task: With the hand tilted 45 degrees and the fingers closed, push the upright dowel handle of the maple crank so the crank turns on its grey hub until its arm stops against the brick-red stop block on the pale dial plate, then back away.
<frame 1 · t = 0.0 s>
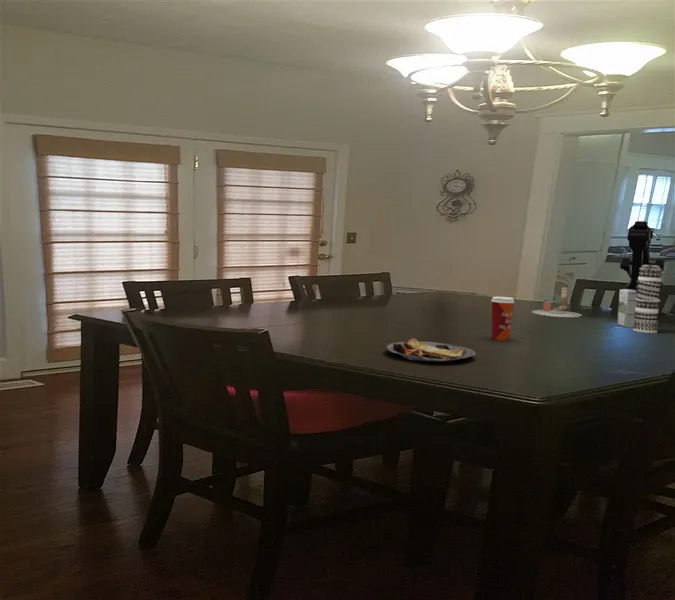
hand: (641, 278, 314), 15 cm above the table, tool tilted 35°, fingers open, 9 cm apart
crank: (561, 298, 294), point 6 cm above the table, hinge at 0.0°
dial plate: (556, 313, 290), on the table
paper cup: (500, 339, 220), on the table
decorative candle: (644, 331, 249), on the table
food plate: (429, 357, 188), on the table
syrup box: (627, 326, 260), on the table
stop block: (546, 311, 297), resting on dial plate
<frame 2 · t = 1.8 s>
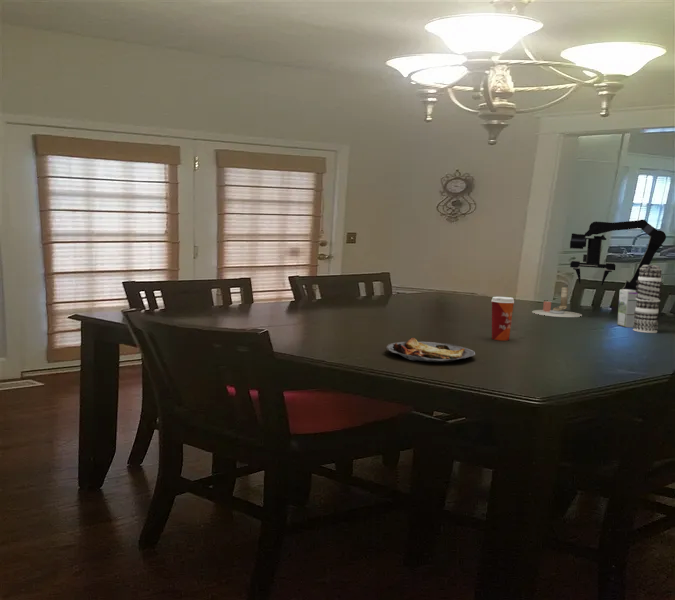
hand: (590, 284, 294), 13 cm above the table, tool pointing down, fingers open, 9 cm apart
nothing on the table moved.
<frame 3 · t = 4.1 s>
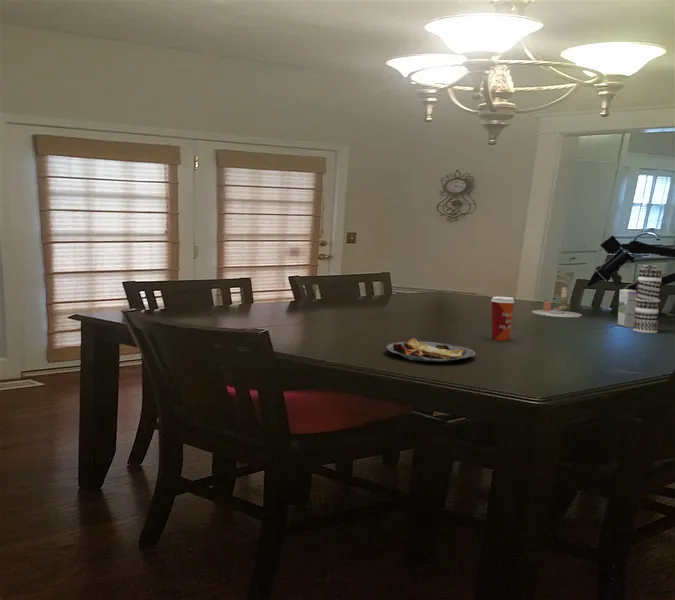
hand: (587, 285, 294), 12 cm above the table, tool tilted 45°, fingers closed
nothing on the table moved.
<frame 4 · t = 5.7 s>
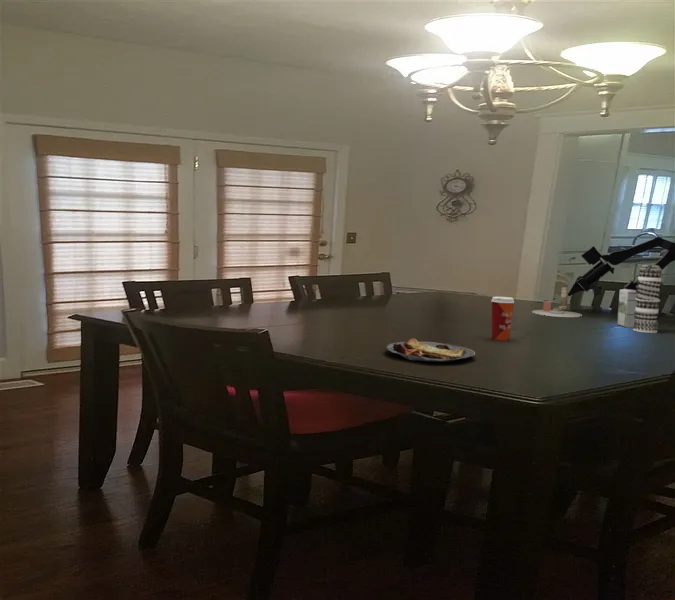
hand: (568, 295, 297), 7 cm above the table, tool tilted 45°, fingers closed, pressing on crank
crank: (561, 298, 294), point 6 cm above the table, hinge at 0.0°, touching gripper
everything else where it was.
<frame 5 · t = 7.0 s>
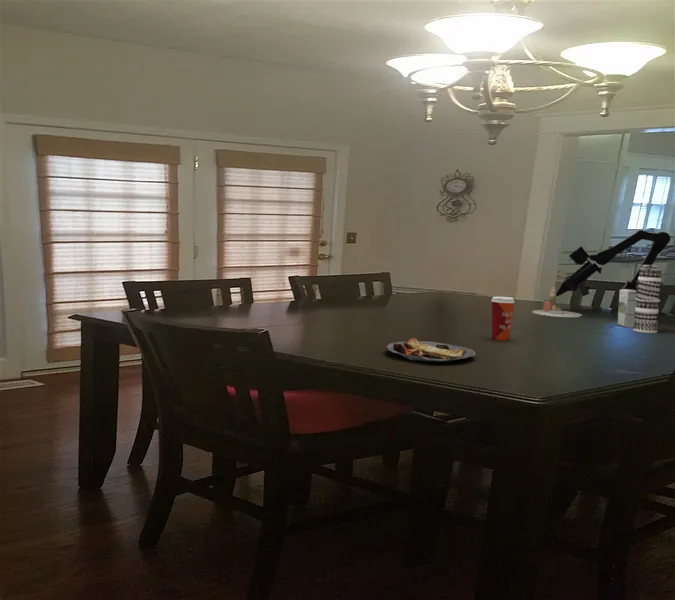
hand: (556, 295, 299), 7 cm above the table, tool tilted 45°, fingers closed
crank: (554, 298, 294), point 6 cm above the table, hinge at 29.8°
everything else where it was.
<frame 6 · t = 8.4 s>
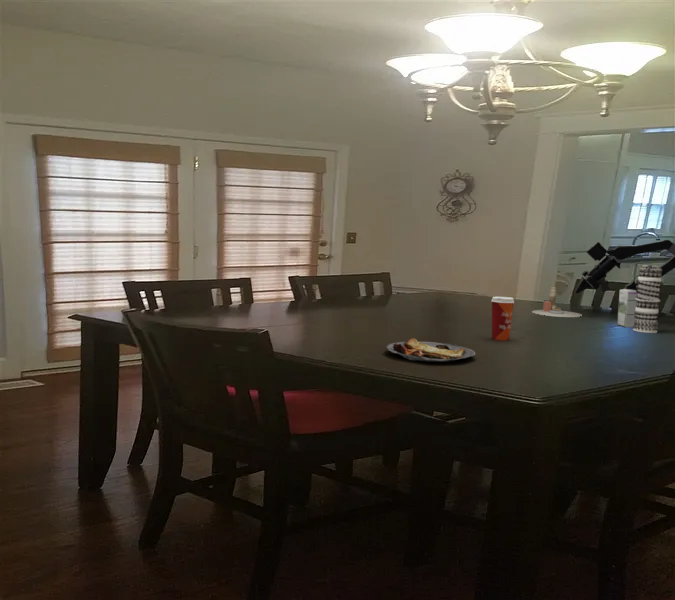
hand: (576, 292, 296), 9 cm above the table, tool tilted 40°, fingers closed
nothing on the table moved.
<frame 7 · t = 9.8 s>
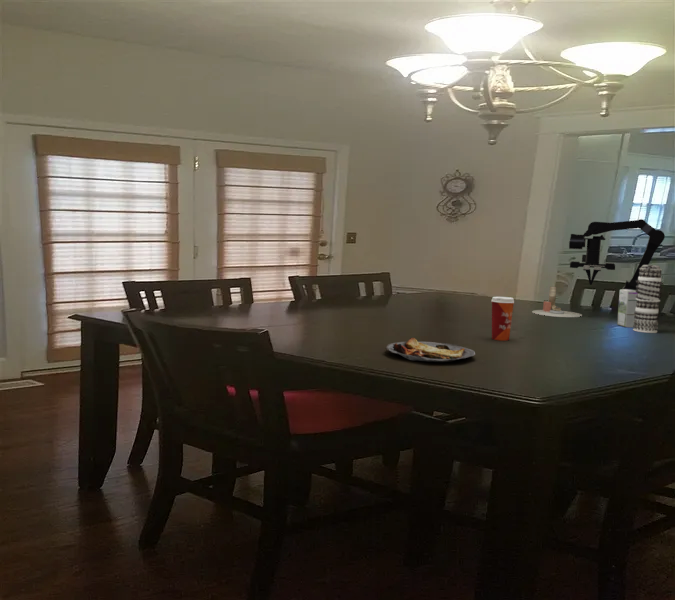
hand: (590, 284, 295), 13 cm above the table, tool pointing down, fingers closed
nothing on the table moved.
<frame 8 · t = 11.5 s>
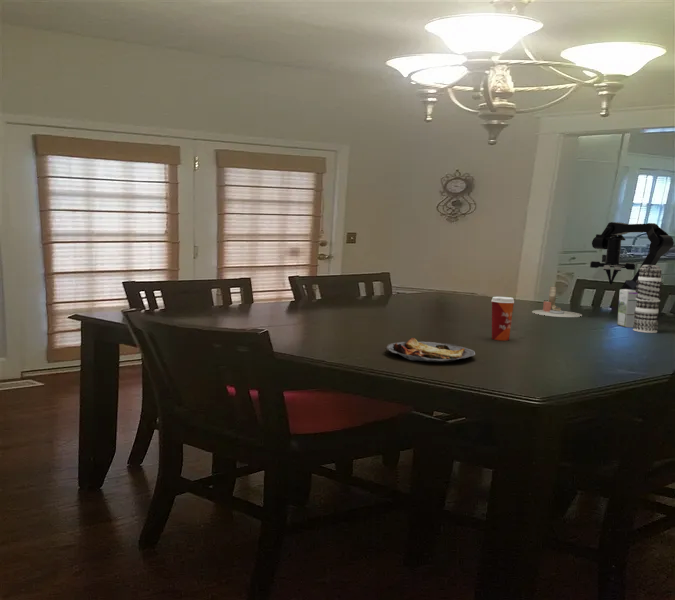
hand: (610, 284, 299), 13 cm above the table, tool pointing down, fingers closed
nothing on the table moved.
at the end: crank at +30° (first picture: +0°) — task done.
